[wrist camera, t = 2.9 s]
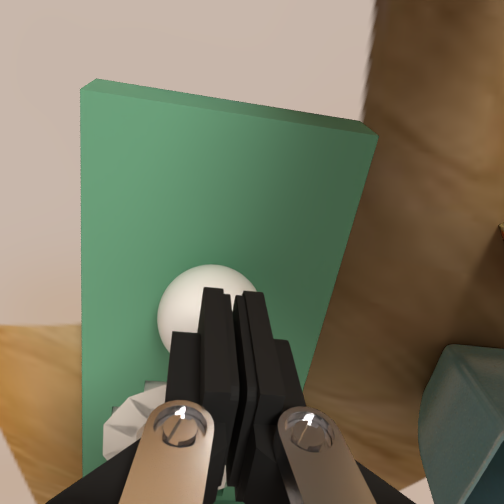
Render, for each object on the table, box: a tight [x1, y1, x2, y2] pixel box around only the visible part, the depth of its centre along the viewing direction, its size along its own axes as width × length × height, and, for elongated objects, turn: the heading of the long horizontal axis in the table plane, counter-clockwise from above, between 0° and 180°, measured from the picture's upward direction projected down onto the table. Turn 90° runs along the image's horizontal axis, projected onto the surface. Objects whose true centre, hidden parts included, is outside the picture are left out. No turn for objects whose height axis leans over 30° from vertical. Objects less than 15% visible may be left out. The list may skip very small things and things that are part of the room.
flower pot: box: [418, 344, 504, 504], centre depth 29 cm, size 9×9×9 cm
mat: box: [80, 79, 379, 504], centre depth 26 cm, size 28×13×5 cm, turn 170°
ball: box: [157, 264, 257, 353], centre depth 22 cm, size 5×5×5 cm
